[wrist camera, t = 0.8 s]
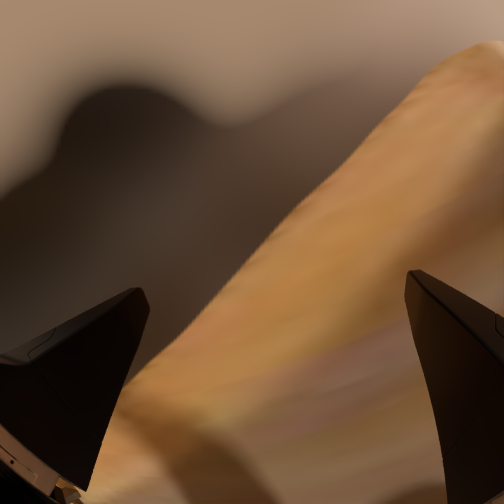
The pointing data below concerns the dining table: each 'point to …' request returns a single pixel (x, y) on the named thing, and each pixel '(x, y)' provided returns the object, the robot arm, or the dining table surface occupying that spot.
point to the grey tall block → (70, 495)
